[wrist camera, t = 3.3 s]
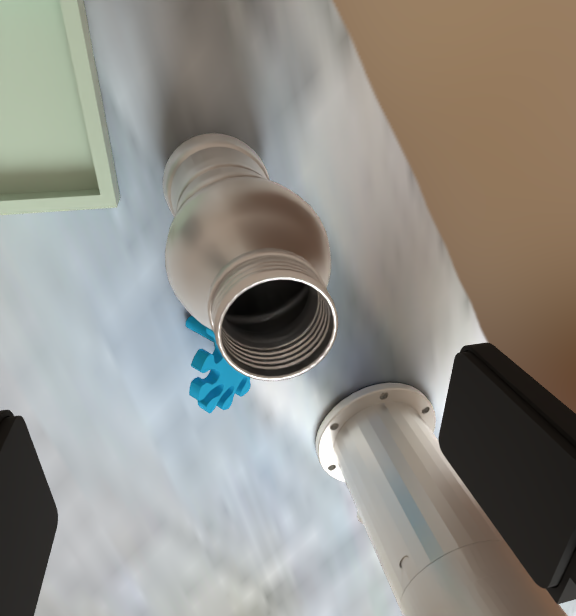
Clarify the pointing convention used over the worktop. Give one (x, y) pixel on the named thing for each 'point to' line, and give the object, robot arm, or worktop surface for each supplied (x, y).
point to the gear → (214, 374)
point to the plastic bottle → (248, 259)
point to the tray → (51, 112)
